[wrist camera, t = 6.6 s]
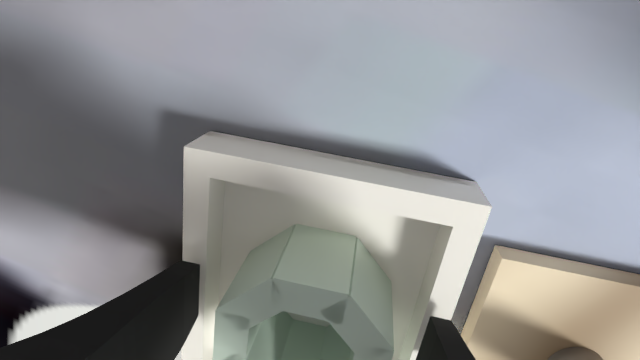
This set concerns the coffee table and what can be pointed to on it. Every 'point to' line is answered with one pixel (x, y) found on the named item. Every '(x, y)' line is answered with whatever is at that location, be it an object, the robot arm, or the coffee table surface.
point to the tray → (327, 225)
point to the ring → (306, 301)
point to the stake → (553, 310)
